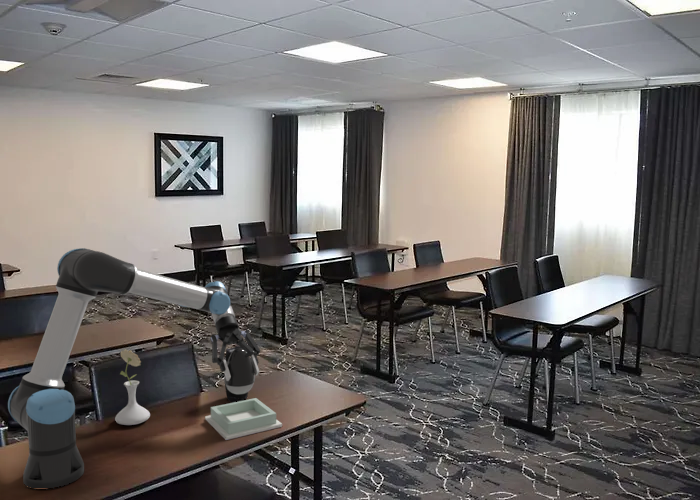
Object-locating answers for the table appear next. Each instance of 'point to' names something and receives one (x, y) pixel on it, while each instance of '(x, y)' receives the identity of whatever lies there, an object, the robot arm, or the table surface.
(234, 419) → the holder
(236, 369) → the black rounded tall piece
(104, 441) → the table surface
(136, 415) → the flower in vase
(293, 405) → the table surface
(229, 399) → the portable speaker
